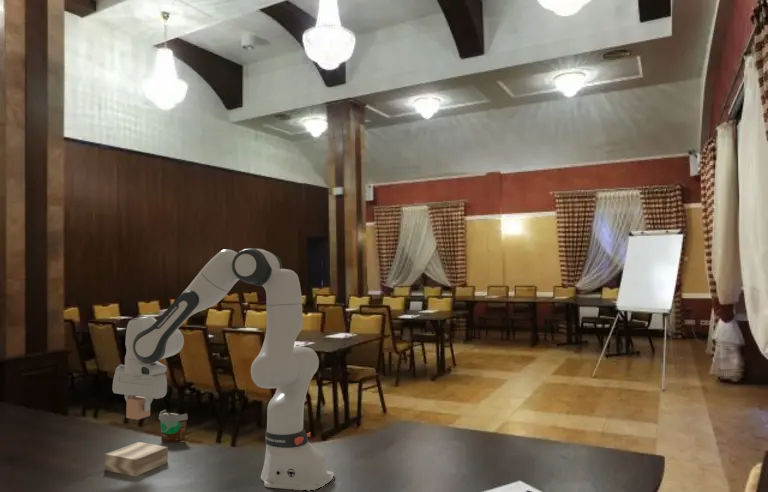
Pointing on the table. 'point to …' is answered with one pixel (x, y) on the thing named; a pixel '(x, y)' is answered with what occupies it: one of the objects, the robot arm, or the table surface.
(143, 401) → the terracotta block
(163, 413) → the food container
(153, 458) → the birch plinth
